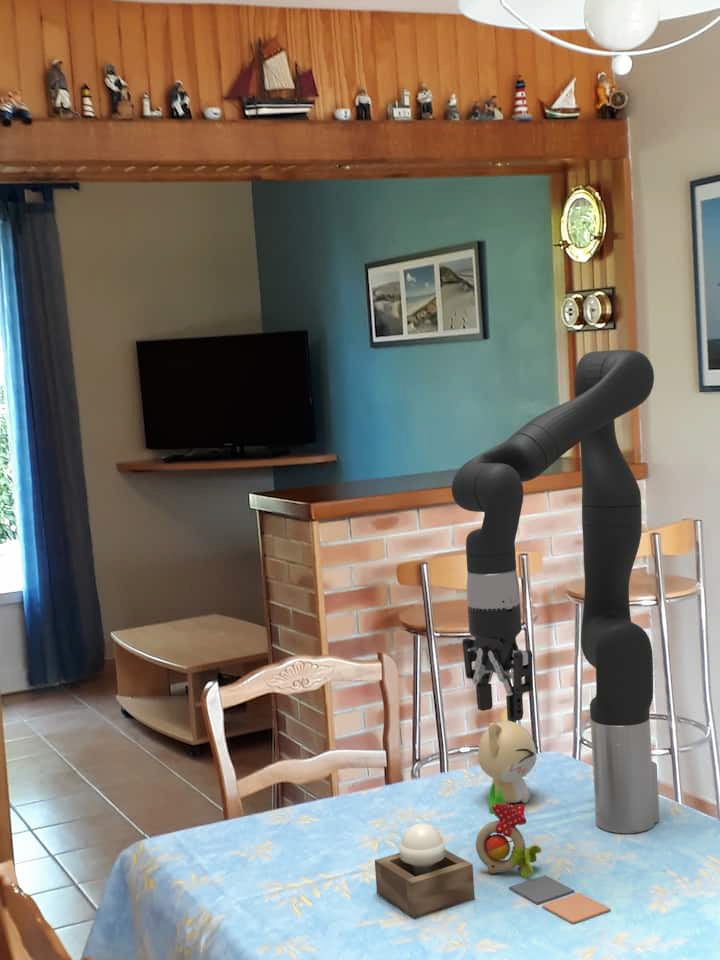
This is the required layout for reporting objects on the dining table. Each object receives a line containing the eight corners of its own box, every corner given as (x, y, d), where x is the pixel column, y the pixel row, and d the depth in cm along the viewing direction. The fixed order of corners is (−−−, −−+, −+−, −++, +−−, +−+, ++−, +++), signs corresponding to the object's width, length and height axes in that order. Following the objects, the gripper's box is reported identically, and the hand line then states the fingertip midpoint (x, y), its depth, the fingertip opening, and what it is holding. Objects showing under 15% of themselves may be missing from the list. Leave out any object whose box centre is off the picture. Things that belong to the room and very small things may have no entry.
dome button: (430, 862, 173) (427, 813, 172) (455, 876, 167) (452, 825, 167) (392, 873, 170) (389, 823, 169) (416, 888, 164) (413, 836, 163)
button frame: (435, 876, 175) (433, 842, 175) (474, 899, 167) (472, 864, 166) (376, 894, 170) (374, 860, 170) (414, 918, 162) (411, 883, 161)
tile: (579, 894, 166) (579, 892, 166) (610, 910, 160) (610, 908, 160) (542, 907, 163) (541, 905, 163) (572, 924, 157) (572, 922, 157)
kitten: (528, 819, 195) (523, 729, 194) (469, 815, 199) (464, 727, 198) (547, 788, 209) (543, 704, 208) (492, 785, 213) (487, 702, 212)
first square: (545, 877, 172) (545, 875, 172) (574, 892, 167) (574, 890, 167) (508, 888, 169) (508, 886, 169) (537, 904, 164) (537, 902, 164)
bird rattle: (492, 896, 172) (549, 872, 170) (457, 827, 172) (514, 803, 170) (496, 879, 178) (551, 855, 176) (462, 812, 178) (516, 788, 176)
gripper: (444, 599, 176) (450, 709, 177) (502, 612, 163) (509, 730, 165) (485, 592, 179) (491, 700, 181) (545, 604, 167) (552, 720, 168)
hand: (500, 714), depth 173 cm, fingers open, 6 cm apart
